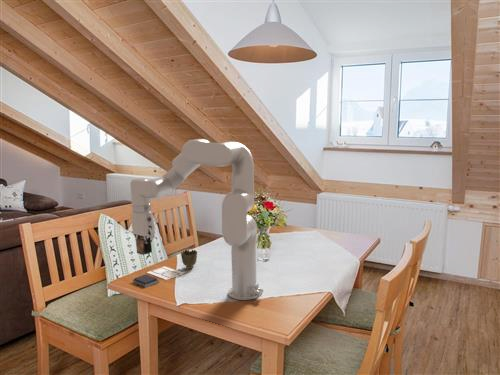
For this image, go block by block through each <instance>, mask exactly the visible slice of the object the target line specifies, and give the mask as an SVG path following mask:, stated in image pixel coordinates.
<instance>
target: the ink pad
mask: <svg viewBox="0 0 500 375" xmlns="http://www.w3.org/2000/svg"><path fill="white" fill-rule="evenodd" d="M132 283H133V284H136V285H138V286H140V287H143V288H148V287H151V286H153V285H155V284H158V283H160V279H158V277H156V276H153V275H150V274H148V273H147V274H142V275H139V276H137V277H134V278H133V279H132Z"/></svg>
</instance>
